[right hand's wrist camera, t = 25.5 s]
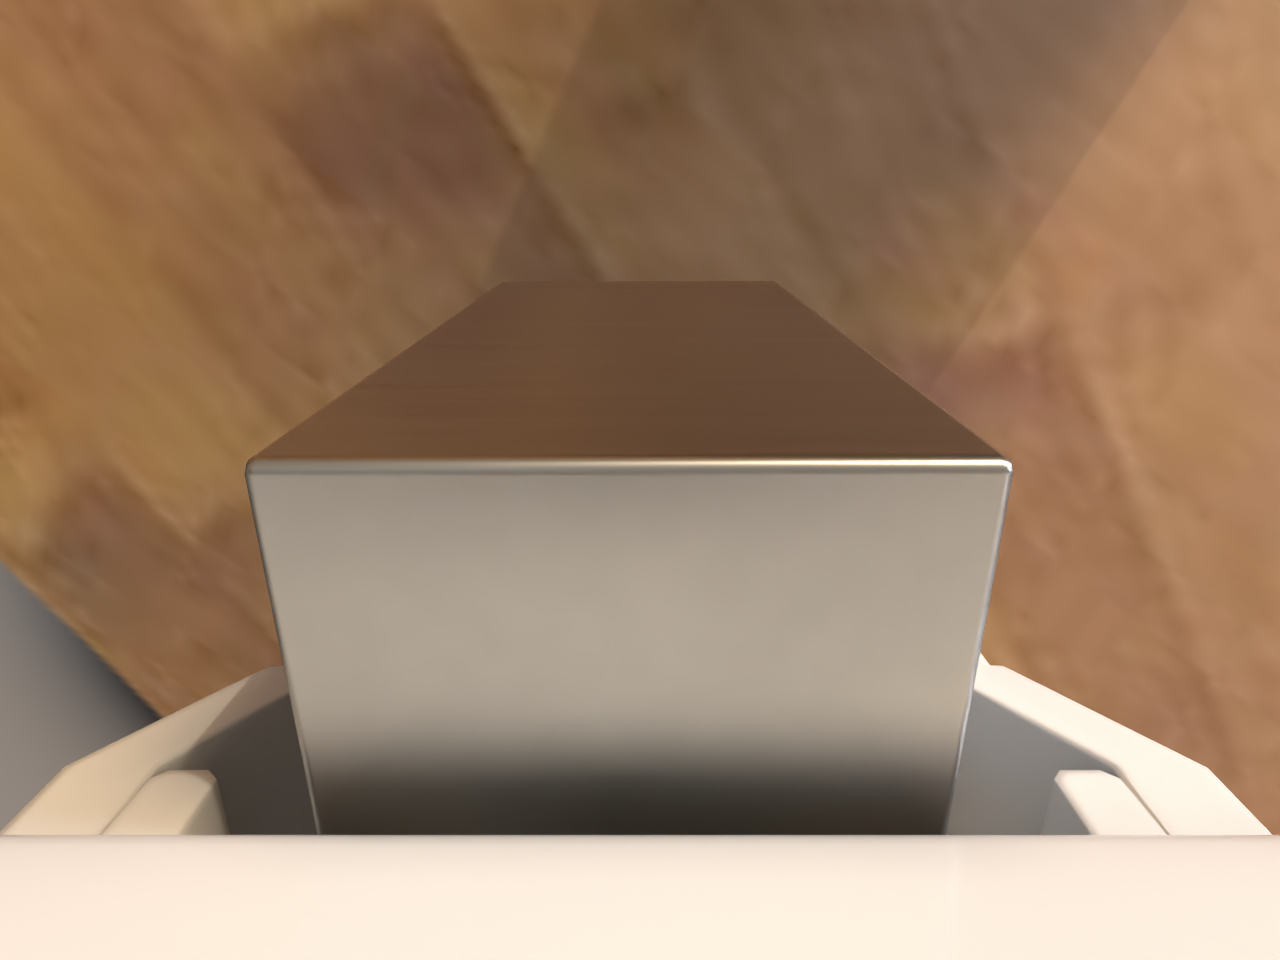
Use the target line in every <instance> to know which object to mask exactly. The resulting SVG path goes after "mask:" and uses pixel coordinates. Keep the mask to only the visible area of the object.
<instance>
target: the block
mask: <svg viewBox="0 0 1280 960" xmlns="http://www.w3.org/2000/svg"><path fill="white" fill-rule="evenodd" d="M1012 476H1013V469H1012V464H1011V461H1010V459H1009V458H1008V457H1007V456H1005V455H1004V454H1003V453H1001V452H1000V451H999V450H997V449H996V448H995V447H994V446H992V445H991V444H990V443H988V442H987V441H986V440H984V439H983V438H982V437H980V436H979V435H978V434H976V433H975V432H974V431H972V430H971V429H970V428H968V427H967V426H966V425H964V424H963V423H962V422H960V421H959V420H958V419H956V418H955V417H954V416H952V415H951V414H950V413H948V412H947V411H946V410H944V409H943V408H942V407H940V406H939V405H938V404H937V403H935V402H934V401H933V400H931V399H930V398H929V397H927V396H926V395H925V394H923V393H922V392H921V391H919V390H918V389H917V388H915V387H914V386H913V385H911V384H910V383H909V382H907V381H906V380H905V379H903V378H902V377H901V376H899V375H898V374H897V373H895V372H894V371H893V370H891V369H890V368H889V367H887V366H886V365H885V364H884V363H882V362H881V361H880V360H878V359H877V358H876V357H874V356H873V355H872V354H870V353H869V352H868V351H866V350H865V349H864V348H862V347H861V346H860V345H858V344H857V343H856V342H854V341H853V340H852V339H850V338H849V337H848V336H846V335H845V334H844V333H842V332H841V331H840V330H838V329H837V328H836V327H834V326H833V325H832V324H831V323H829V322H828V321H827V320H825V319H824V318H823V317H821V316H820V315H819V314H817V313H816V312H815V311H813V310H812V309H811V308H809V307H808V306H807V305H805V304H804V303H803V302H801V301H800V300H799V299H797V298H796V297H795V296H793V295H792V294H791V293H789V292H788V291H787V290H785V289H784V288H783V287H781V286H780V285H779V284H777V283H776V282H773V281H685V282H503V283H501V284H499V285H498V286H496V287H495V288H494V289H492V290H491V291H489V292H488V293H486V294H485V295H484V296H482V297H481V298H479V299H478V300H476V301H475V302H474V303H472V304H471V305H469V306H468V307H466V308H465V309H464V310H462V311H461V312H459V313H458V314H456V315H455V316H454V317H452V318H451V319H449V320H448V321H446V322H445V323H444V324H442V325H441V326H439V327H438V328H436V329H435V330H434V331H432V332H431V333H429V334H428V335H426V336H425V337H424V338H422V339H421V340H419V341H418V342H416V343H415V344H413V345H412V346H411V347H409V348H408V349H406V350H405V351H403V352H402V353H401V354H399V355H398V356H396V357H395V358H393V359H392V360H391V361H389V362H388V363H386V364H385V365H383V366H382V367H381V368H379V369H378V370H376V371H375V372H373V373H372V374H371V375H369V376H368V377H366V378H365V379H363V380H362V381H361V382H359V383H358V384H356V385H355V386H353V387H352V388H351V389H349V390H348V391H346V392H345V393H343V394H342V395H341V396H339V397H338V398H336V399H335V400H333V401H332V402H331V403H329V404H328V405H326V406H325V407H323V408H322V409H320V410H319V411H318V412H316V413H315V414H313V415H312V416H310V417H309V418H308V419H306V420H305V421H303V422H302V423H300V424H299V425H298V426H296V427H295V428H293V429H292V430H290V431H289V432H288V433H286V434H285V435H283V436H282V437H280V438H279V439H278V440H276V441H275V442H273V443H272V444H270V445H269V446H268V447H266V448H265V449H263V450H262V451H260V452H259V453H258V454H256V455H255V456H253V457H252V458H250V459H249V460H248V462H247V464H246V470H245V478H246V483H247V488H248V493H249V498H250V503H251V508H252V513H253V518H254V523H255V528H256V533H257V538H258V542H259V547H260V552H261V557H262V562H263V567H264V572H265V577H266V582H267V587H268V592H269V597H270V602H271V607H272V612H273V617H274V621H275V626H276V631H277V636H278V641H279V646H280V651H281V656H282V661H283V666H284V671H285V676H286V681H287V686H288V691H289V696H290V701H291V705H292V710H293V715H294V720H295V725H296V730H297V735H298V740H299V745H300V750H301V755H302V760H303V765H304V770H305V775H306V780H307V785H308V789H309V794H310V799H311V804H312V809H313V814H314V819H315V824H316V829H317V834H318V835H947V831H948V825H949V820H950V814H951V809H952V803H953V798H954V793H955V787H956V782H957V776H958V771H959V765H960V760H961V754H962V749H963V743H964V738H965V732H966V727H967V722H968V716H969V711H970V705H971V700H972V694H973V689H974V683H975V678H976V672H977V667H978V662H979V656H980V651H981V645H982V640H983V634H984V629H985V623H986V618H987V612H988V607H989V601H990V596H991V591H992V585H993V580H994V574H995V569H996V563H997V558H998V552H999V547H1000V541H1001V536H1002V531H1003V525H1004V520H1005V514H1006V509H1007V503H1008V498H1009V492H1010V487H1011V481H1012Z"/></svg>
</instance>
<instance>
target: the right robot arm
mask: <svg viewBox="0 0 1280 960" xmlns="http://www.w3.org/2000/svg"><path fill="white" fill-rule="evenodd" d="M947 833H948V834H949V835H318V834H317V829H316V824H315V819H314V814H313V809H312V804H311V799H310V794H309V789H308V785H307V780H306V775H305V770H304V765H303V760H302V755H301V750H300V745H299V740H298V735H297V730H296V725H295V720H294V715H293V710H292V705H291V701H290V696H289V691H288V686H287V681H286V676H285V671H284V666H283V665H282V666H268V667H266V668H264V669H262V670H260V671H258V672H256V673H254V674H252V675H250V676H248V677H246V678H244V679H242V680H240V681H237V682H235V683H233V684H231V685H229V686H227V687H225V688H223V689H221V690H219V691H217V692H215V693H213V694H211V695H209V696H207V697H205V698H203V699H201V700H199V701H197V702H195V703H193V704H191V705H189V706H187V707H185V708H183V709H181V710H179V711H177V712H175V713H172V714H170V715H168V716H166V717H164V718H162V719H160V720H158V721H156V722H154V723H152V724H150V725H148V726H146V727H144V728H142V729H140V730H138V731H136V732H134V733H132V734H130V735H128V736H126V737H124V738H122V739H120V740H118V741H116V742H114V743H112V744H110V745H107V746H106V747H103V748H101V749H100V750H97V751H95V752H93V753H91V754H89V755H87V756H85V757H83V758H81V759H79V760H77V761H75V762H73V763H71V764H69V765H67V766H65V767H63V769H61V770H60V771H59V773H58V774H57V775H56V776H55V777H54V778H53V779H52V780H51V781H50V782H49V783H48V784H47V785H46V786H45V787H44V788H43V789H42V790H41V791H40V792H39V793H38V794H37V795H36V796H35V797H34V798H33V799H32V800H31V801H30V802H29V803H28V804H27V805H26V806H25V807H24V808H23V809H22V810H21V811H20V812H19V813H18V814H17V815H16V816H15V817H14V818H13V819H12V820H11V821H10V822H9V823H8V824H7V825H6V826H5V827H4V828H3V829H2V830H1V831H0V960H1280V835H1272V834H1271V833H1270V832H1269V831H1268V830H1267V829H1266V828H1265V827H1264V826H1263V825H1262V824H1261V823H1260V822H1259V821H1258V820H1257V819H1256V818H1255V817H1254V815H1253V814H1252V813H1251V812H1250V811H1249V810H1248V809H1247V808H1246V807H1245V806H1244V805H1243V804H1242V803H1241V802H1240V801H1239V800H1238V799H1237V798H1236V797H1235V796H1234V795H1233V794H1232V793H1231V792H1230V791H1229V790H1228V789H1227V788H1226V787H1225V786H1224V784H1223V783H1222V782H1221V781H1220V780H1219V779H1218V778H1217V777H1216V776H1215V775H1214V774H1213V773H1212V772H1211V771H1210V770H1209V769H1208V768H1207V767H1205V766H1203V765H1201V764H1199V763H1197V762H1195V761H1192V760H1190V759H1188V758H1186V757H1184V756H1182V755H1180V754H1178V753H1176V752H1174V751H1172V750H1170V749H1168V748H1166V747H1164V746H1162V745H1160V744H1158V743H1156V742H1154V741H1152V740H1150V739H1148V738H1146V737H1144V736H1142V735H1140V734H1138V733H1136V732H1134V731H1132V730H1130V729H1128V728H1126V727H1124V726H1122V725H1120V724H1118V723H1116V722H1114V721H1112V720H1110V719H1108V718H1106V717H1104V716H1102V715H1100V714H1098V713H1096V712H1094V711H1092V710H1090V709H1088V708H1086V707H1084V706H1082V705H1080V704H1078V703H1076V702H1074V701H1072V700H1070V699H1068V698H1066V697H1064V696H1062V695H1060V694H1058V693H1056V692H1054V691H1052V690H1050V689H1048V688H1046V687H1044V686H1042V685H1040V684H1038V683H1036V682H1034V681H1032V680H1030V679H1028V678H1026V677H1024V676H1022V675H1020V674H1018V673H1016V672H1014V671H1012V670H1010V669H1008V668H1006V667H1004V666H990V665H989V664H988V662H987V661H986V659H985V658H984V657H983V655H982V654H981V653H980V656H979V662H978V667H977V672H976V678H975V683H974V689H973V694H972V700H971V705H970V711H969V716H968V722H967V727H966V732H965V738H964V743H963V749H962V754H961V760H960V765H959V771H958V776H957V782H956V787H955V793H954V798H953V803H952V809H951V814H950V820H949V825H948V831H947Z"/></svg>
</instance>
